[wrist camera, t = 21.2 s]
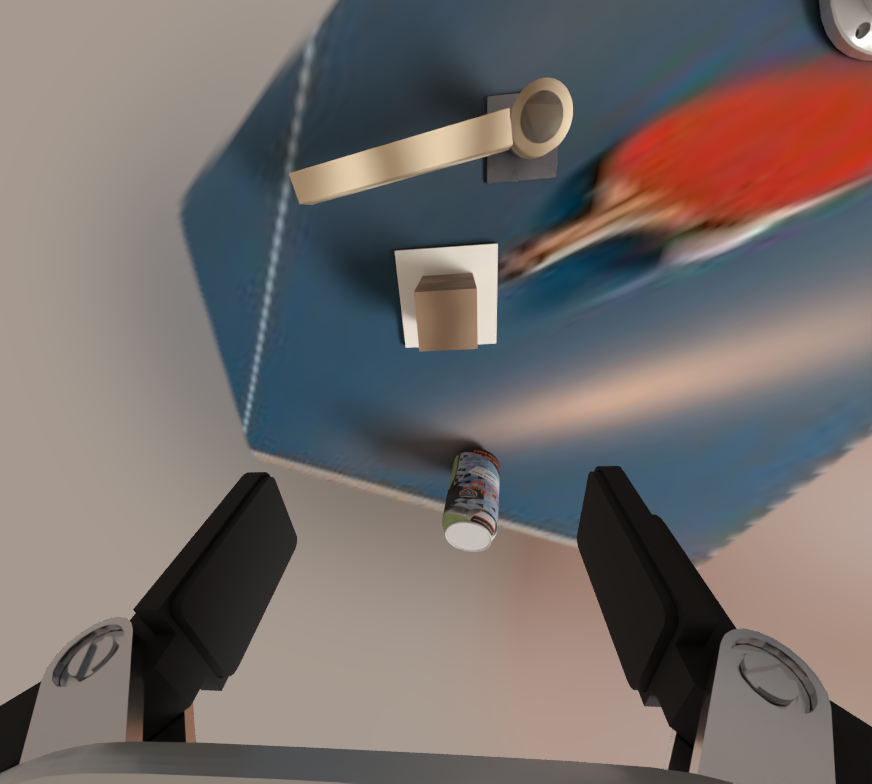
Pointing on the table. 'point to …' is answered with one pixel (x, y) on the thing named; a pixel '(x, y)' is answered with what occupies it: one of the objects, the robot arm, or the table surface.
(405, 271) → the tile
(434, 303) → the walnut block
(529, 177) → the pivot plate
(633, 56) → the table surface
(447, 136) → the swing arm
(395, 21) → the table surface
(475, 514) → the beverage can
